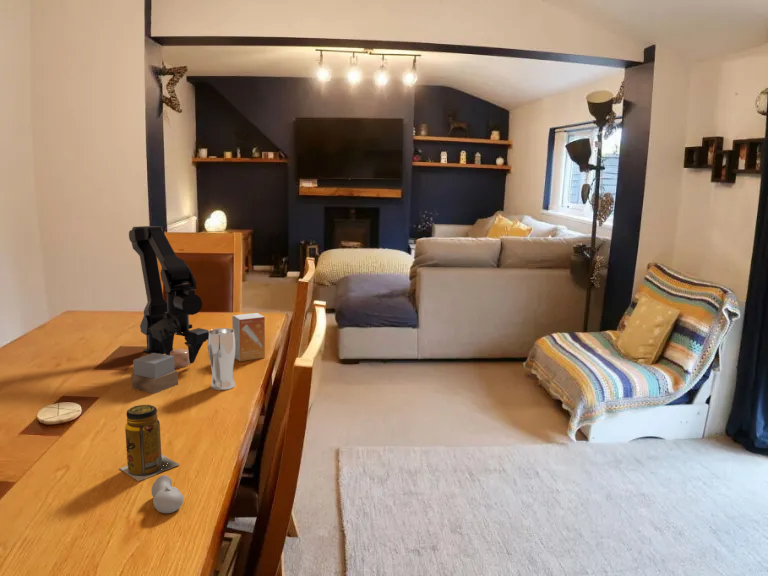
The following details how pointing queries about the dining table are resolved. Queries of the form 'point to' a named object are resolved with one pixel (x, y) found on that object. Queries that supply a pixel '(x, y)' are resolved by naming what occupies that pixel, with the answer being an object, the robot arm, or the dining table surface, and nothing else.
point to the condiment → (144, 443)
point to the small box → (249, 336)
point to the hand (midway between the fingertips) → (180, 360)
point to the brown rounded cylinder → (180, 357)
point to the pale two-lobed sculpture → (166, 495)
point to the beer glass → (222, 357)
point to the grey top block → (154, 365)
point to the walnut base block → (154, 382)
